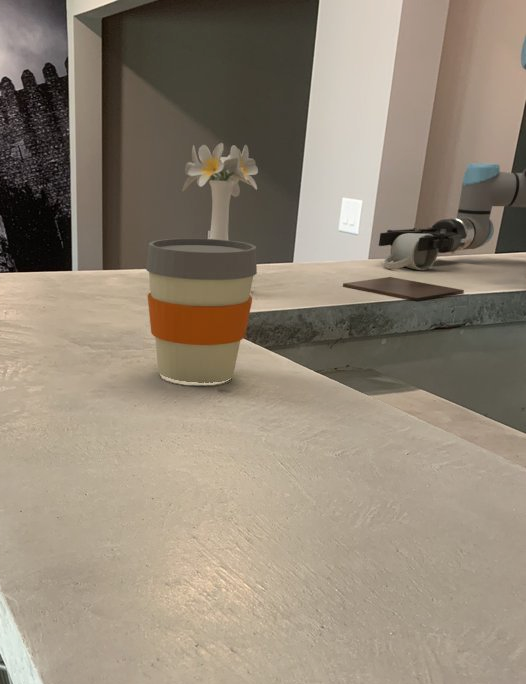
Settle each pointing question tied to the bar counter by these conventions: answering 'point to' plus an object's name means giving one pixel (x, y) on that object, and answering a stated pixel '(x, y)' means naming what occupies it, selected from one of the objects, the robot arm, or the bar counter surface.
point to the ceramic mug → (410, 253)
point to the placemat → (403, 288)
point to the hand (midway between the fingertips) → (400, 242)
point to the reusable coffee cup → (199, 305)
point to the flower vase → (221, 180)
